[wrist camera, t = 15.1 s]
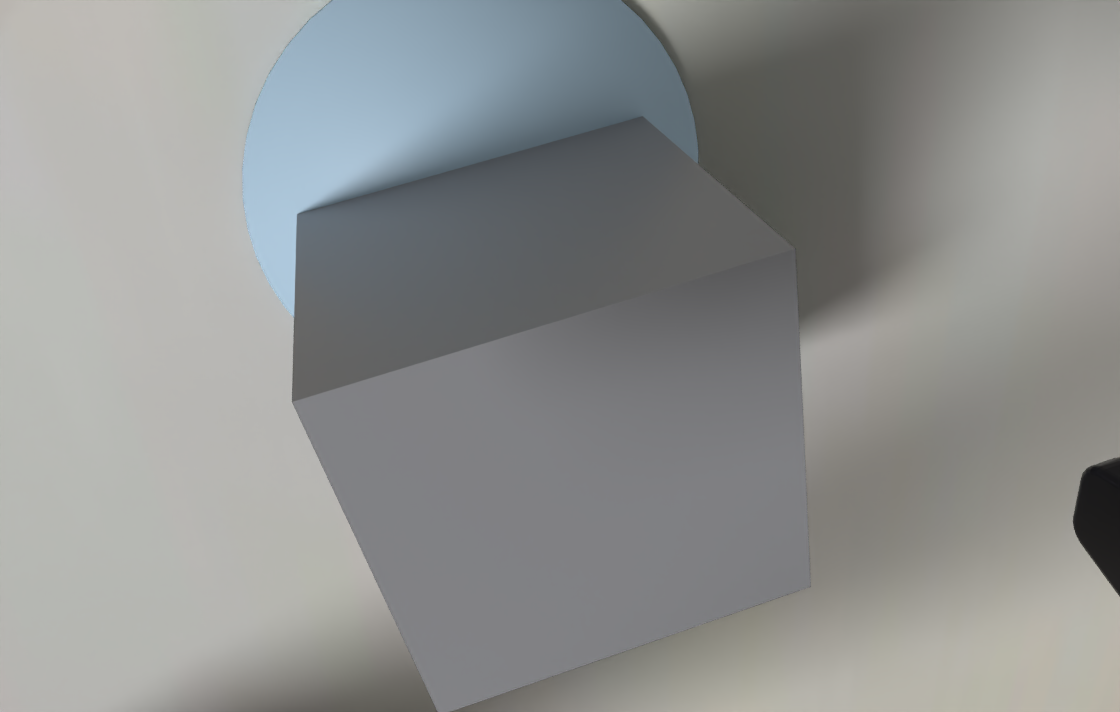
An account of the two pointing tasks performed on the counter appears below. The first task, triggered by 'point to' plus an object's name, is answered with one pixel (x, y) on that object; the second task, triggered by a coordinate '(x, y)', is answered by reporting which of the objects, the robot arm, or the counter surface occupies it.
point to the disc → (439, 100)
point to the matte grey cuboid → (556, 403)
